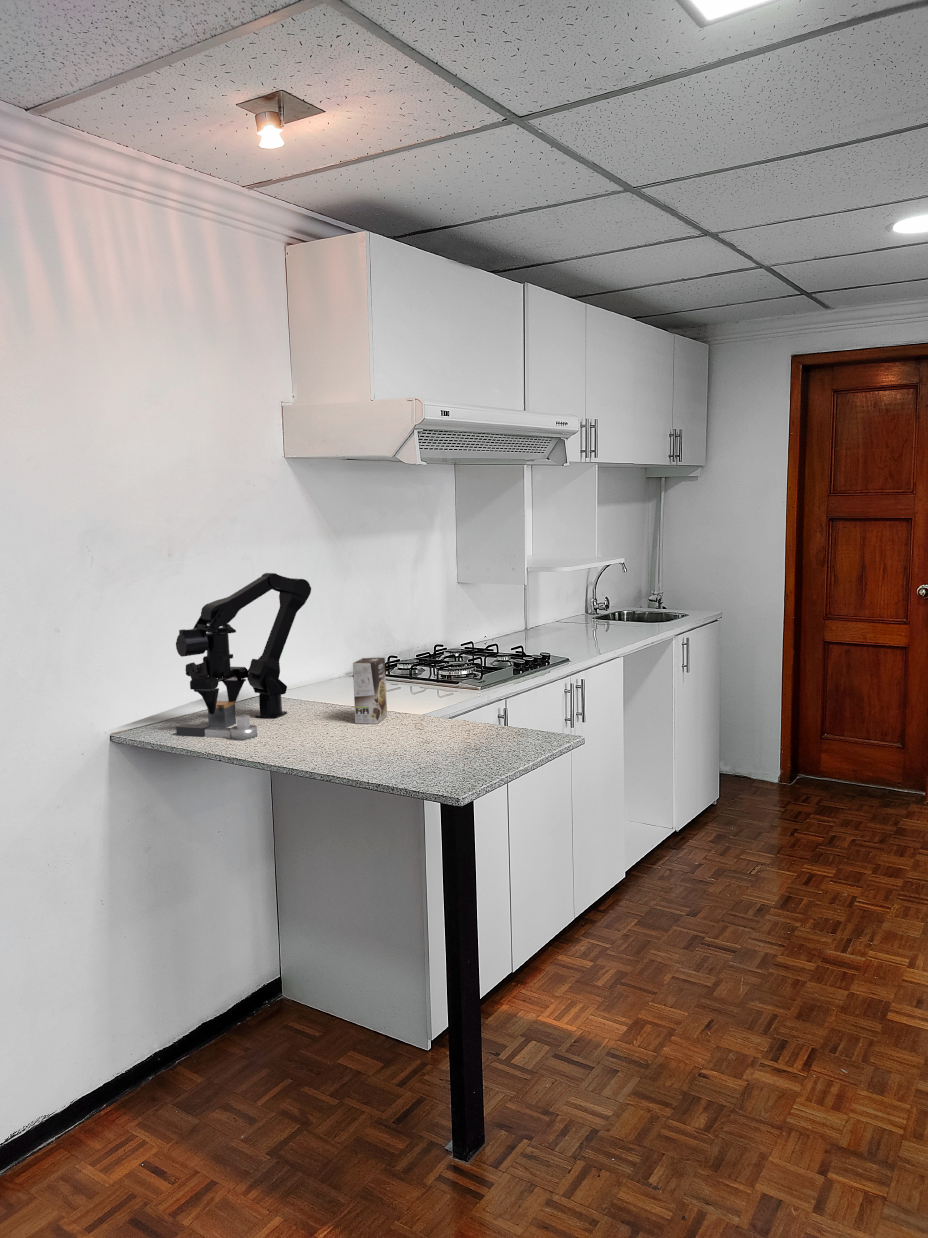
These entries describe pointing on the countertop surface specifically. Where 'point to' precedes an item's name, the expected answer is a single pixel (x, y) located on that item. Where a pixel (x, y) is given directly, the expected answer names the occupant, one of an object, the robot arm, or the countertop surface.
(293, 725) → the countertop surface
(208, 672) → the robot arm
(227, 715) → the grey block
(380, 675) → the coffee box
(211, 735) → the ratchet
